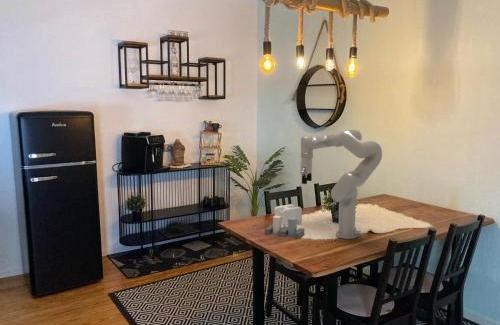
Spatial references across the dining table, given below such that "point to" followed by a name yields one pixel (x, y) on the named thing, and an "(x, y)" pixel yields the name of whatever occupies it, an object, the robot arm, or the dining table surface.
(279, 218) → the cream plug
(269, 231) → the grey blocky pieces
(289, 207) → the cable organizer
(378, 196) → the dining table surface
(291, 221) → the slate plug
